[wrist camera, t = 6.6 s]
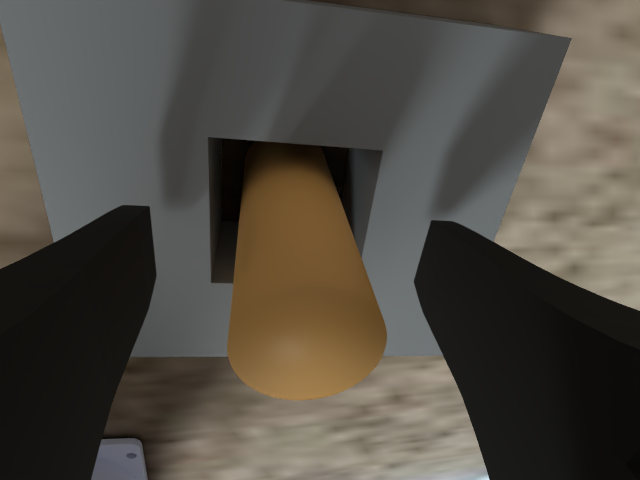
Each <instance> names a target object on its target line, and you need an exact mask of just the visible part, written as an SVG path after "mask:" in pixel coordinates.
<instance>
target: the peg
mask: <svg viewBox="0 0 640 480" xmlns="http://www.w3.org/2000/svg"><path fill="white" fill-rule="evenodd" d="M386 343H387V330H386V325H385V322H384V319H383V316H382V313H381V311H380V308H379V305H378V302H377V300H376V297H375V294H374V291H373V289H372V286H371V283H370V280H369V278H368V275H367V272H366V269H365V267H364V264H363V261H362V258H361V256H360V253H359V250H358V247H357V244H356V242H355V239H354V236H353V233H352V231H351V228H350V225H349V222H348V220H347V217H346V214H345V211H344V209H343V206H342V203H341V200H340V198H339V195H338V192H337V189H336V187H335V184H334V181H333V178H332V176H331V173H330V170H329V167H328V165H327V162H326V159H325V156H324V154H323V151H322V149H321V147H320V146H318V145H305V144H292V143H279V142H266V141H254V143H253V144H252V145H251V147H250V148H249V150H248V153H247V155H246V159H245V166H244V177H243V187H242V197H241V208H240V218H239V228H238V239H237V249H236V260H235V270H234V280H233V291H232V301H231V311H230V322H229V332H228V342H227V354H228V358H229V362H230V364H231V367H232V369H233V370H234V372H235V373H236V375H237V376H238V377H239V378H240V379H241V380H242V381H243V382H244V383H245V384H247V385H248V386H249V387H251V388H253V389H254V390H256V391H258V392H260V393H263V394H265V395H268V396H271V397H275V398H280V399H286V400H311V399H319V398H323V397H328V396H331V395H334V394H337V393H339V392H342V391H344V390H346V389H348V388H350V387H352V386H354V385H355V384H357V383H358V382H360V381H361V380H363V379H364V378H365V377H366V376H367V375H368V374H369V373H370V372H371V371H372V370H373V369H374V368H375V367H376V365H377V364H378V363H379V361H380V359H381V358H382V356H383V353H384V351H385V347H386Z"/></svg>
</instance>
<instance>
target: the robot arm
mask: <svg viewBox="0 0 640 480" xmlns="http://www.w3.org/2000/svg"><path fill="white" fill-rule="evenodd" d="M156 276H157V273H156V263H155V253H154V244H153V234H152V224H151V214H150V206H137V205H121V206H119V207H117V208H115V209H113V210H111V211H109V212H107V213H106V214H104V215H102V216H100V217H99V218H97V219H95V220H94V221H92V222H90V223H88V224H87V225H85V226H83V227H81V228H80V229H78V230H76V231H74V232H73V233H71V234H69V235H67V236H66V237H64V238H62V239H60V240H58V241H56V242H54V243H52V244H51V245H49V246H47V247H45V248H43V249H41V250H39V251H37V252H35V253H33V254H31V255H29V256H27V257H25V258H23V259H21V260H19V261H17V262H15V263H13V264H11V265H8V266H6V267H4V268H2V269H0V480H148V478H147V472H146V466H145V460H144V454H143V448H142V443H141V441H139V440H138V439H135V438H120V439H102V436H103V433H104V429H105V426H106V422H107V419H108V415H109V411H110V408H111V404H112V402H113V399H114V396H115V393H116V390H117V387H118V385H119V382H120V380H121V377H122V375H123V372H124V370H125V367H126V365H127V362H128V360H129V357H130V355H131V352H132V350H133V348H134V345H135V343H136V340H137V338H138V335H139V333H140V330H141V328H142V325H143V323H144V320H145V317H146V315H147V312H148V310H149V306H150V302H151V298H152V294H153V290H154V285H155V281H156ZM414 285H415V288H416V292H417V296H418V299H419V302H420V305H421V308H422V311H423V314H424V316H425V318H426V320H427V323H428V325H429V327H430V329H431V331H432V333H433V335H434V337H435V340H436V342H437V344H438V346H439V348H440V350H441V352H442V354H443V356H444V358H445V360H446V362H447V364H448V366H449V368H450V371H451V373H452V375H453V377H454V379H455V381H456V383H457V386H458V388H459V390H460V393H461V395H462V397H463V400H464V403H465V406H466V409H467V411H468V414H469V417H470V420H471V423H472V426H473V428H474V431H475V434H476V437H477V440H478V444H479V447H480V450H481V453H482V456H483V459H484V462H485V466H486V469H487V472H488V475H489V479H490V480H640V311H638V310H636V309H633V308H630V307H627V306H624V305H622V304H619V303H617V302H614V301H612V300H609V299H607V298H604V297H602V296H599V295H597V294H595V293H592V292H590V291H588V290H586V289H583V288H581V287H579V286H576V285H574V284H572V283H570V282H568V281H566V280H563V279H561V278H559V277H557V276H555V275H553V274H551V273H549V272H548V271H546V270H544V269H542V268H540V267H538V266H536V265H534V264H532V263H530V262H528V261H527V260H525V259H523V258H521V257H519V256H517V255H516V254H514V253H512V252H510V251H509V250H507V249H505V248H503V247H501V246H500V245H498V244H496V243H494V242H493V241H491V240H489V239H487V238H486V237H484V236H482V235H480V234H479V233H477V232H475V231H473V230H471V229H469V228H467V227H465V226H463V225H461V224H459V223H456V222H454V221H441V220H431V222H430V226H429V229H428V233H427V236H426V240H425V243H424V247H423V250H422V254H421V257H420V261H419V264H418V268H417V271H416V275H415V278H414Z"/></svg>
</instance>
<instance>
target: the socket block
mask: <svg viewBox="0 0 640 480" xmlns="http://www.w3.org/2000/svg"><path fill="white" fill-rule="evenodd" d="M0 24H1V28H2V32H3V36H4V40H5V44H6V49H7V53H8V57H9V61H10V65H11V69H12V73H13V77H14V81H15V85H16V89H17V93H18V98H19V102H20V106H21V110H22V114H23V118H24V122H25V126H26V130H27V134H28V138H29V143H30V147H31V151H32V155H33V159H34V163H35V167H36V171H37V175H38V179H39V183H40V187H41V192H42V196H43V200H44V204H45V208H46V212H47V216H48V220H49V224H50V228H51V232H52V236H53V241H54V242H56V241H58V240H60V239H62V238H64V237H66V236H67V235H69V234H71V233H73V232H74V231H76V230H78V229H80V228H81V227H83V226H85V225H87V224H88V223H90V222H92V221H94V220H95V219H97V218H99V217H100V216H102V215H104V214H106V213H107V212H109V211H111V210H113V209H115V208H117V207H119V206H121V205H137V206H150V214H151V224H152V234H153V244H154V253H155V263H156V273H157V276H156V281H155V285H154V290H153V294H152V298H151V302H150V306H149V310H148V312H147V315H146V317H145V320H144V323H143V325H142V328H141V330H140V333H139V335H138V338H137V340H136V343H135V345H134V348H133V350H132V352H131V355H130V357H228V354H227V342H228V332H229V322H230V311H231V301H232V291H233V280H234V270H235V260H236V249H237V239H238V228H239V222H237V221H222V185H221V138H227V139H240V140H253V141H266V142H279V143H292V144H305V145H318V146H332V147H345V148H349V155H348V161H347V167H346V174H345V180H344V186H343V193H342V199H341V203H342V206H343V209H344V211H345V214H346V217H347V220H348V222H349V225H350V228H351V231H352V233H353V236H354V239H355V242H356V244H357V247H358V250H359V253H360V256H361V258H362V261H363V264H364V267H365V269H366V272H367V275H368V278H369V280H370V283H371V286H372V289H373V291H374V294H375V297H376V300H377V302H378V305H379V308H380V311H381V313H382V316H383V319H384V322H385V325H386V330H387V343H386V347H385V351H384V353H383V356H433V355H443V354H442V352H441V350H440V348H439V346H438V344H437V342H436V340H435V337H434V335H433V333H432V331H431V329H430V327H429V325H428V323H427V320H426V318H425V316H424V314H423V311H422V308H421V305H420V302H419V299H418V296H417V292H416V288H415V285H414V278H415V275H416V271H417V268H418V264H419V261H420V257H421V254H422V250H423V247H424V243H425V240H426V236H427V233H428V229H429V226H430V222H431V220H441V221H454V222H456V223H459V224H461V225H463V226H465V227H467V228H469V229H471V230H473V231H475V232H477V233H479V234H480V235H482V236H484V237H486V238H487V239H489V240H491V241H494V239H495V236H496V233H497V231H498V228H499V226H500V223H501V221H502V218H503V215H504V213H505V210H506V208H507V205H508V202H509V200H510V197H511V195H512V192H513V189H514V187H515V184H516V182H517V179H518V176H519V174H520V171H521V169H522V166H523V163H524V161H525V158H526V156H527V153H528V150H529V148H530V145H531V143H532V140H533V137H534V135H535V132H536V130H537V127H538V124H539V122H540V119H541V117H542V114H543V111H544V109H545V106H546V104H547V101H548V98H549V96H550V93H551V91H552V88H553V86H554V83H555V80H556V78H557V75H558V73H559V70H560V67H561V65H562V62H563V60H564V57H565V54H566V52H567V49H568V47H569V44H570V41H571V39H572V38H567V37H561V36H555V35H550V34H544V33H538V32H532V31H526V30H521V29H515V28H509V27H503V26H498V25H491V24H483V23H476V22H468V21H461V20H453V19H446V18H438V17H431V16H423V15H416V14H408V13H400V12H393V11H385V10H378V9H370V8H363V7H355V6H348V5H340V4H333V3H325V2H318V1H310V0H0Z"/></svg>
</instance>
